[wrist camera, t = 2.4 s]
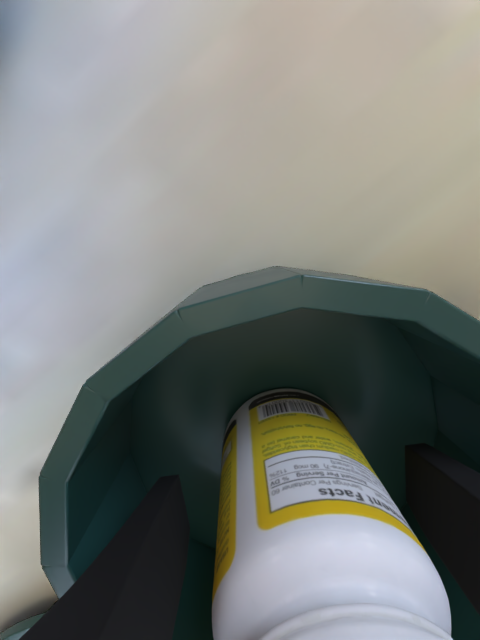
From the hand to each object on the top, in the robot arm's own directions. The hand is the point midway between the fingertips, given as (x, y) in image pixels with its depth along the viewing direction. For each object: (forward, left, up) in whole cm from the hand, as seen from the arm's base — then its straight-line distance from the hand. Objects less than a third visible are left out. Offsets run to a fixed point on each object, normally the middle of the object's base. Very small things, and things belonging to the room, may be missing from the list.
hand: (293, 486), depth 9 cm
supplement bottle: (0, 0, -3) cm, 3 cm away
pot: (0, 0, -3) cm, 3 cm away
